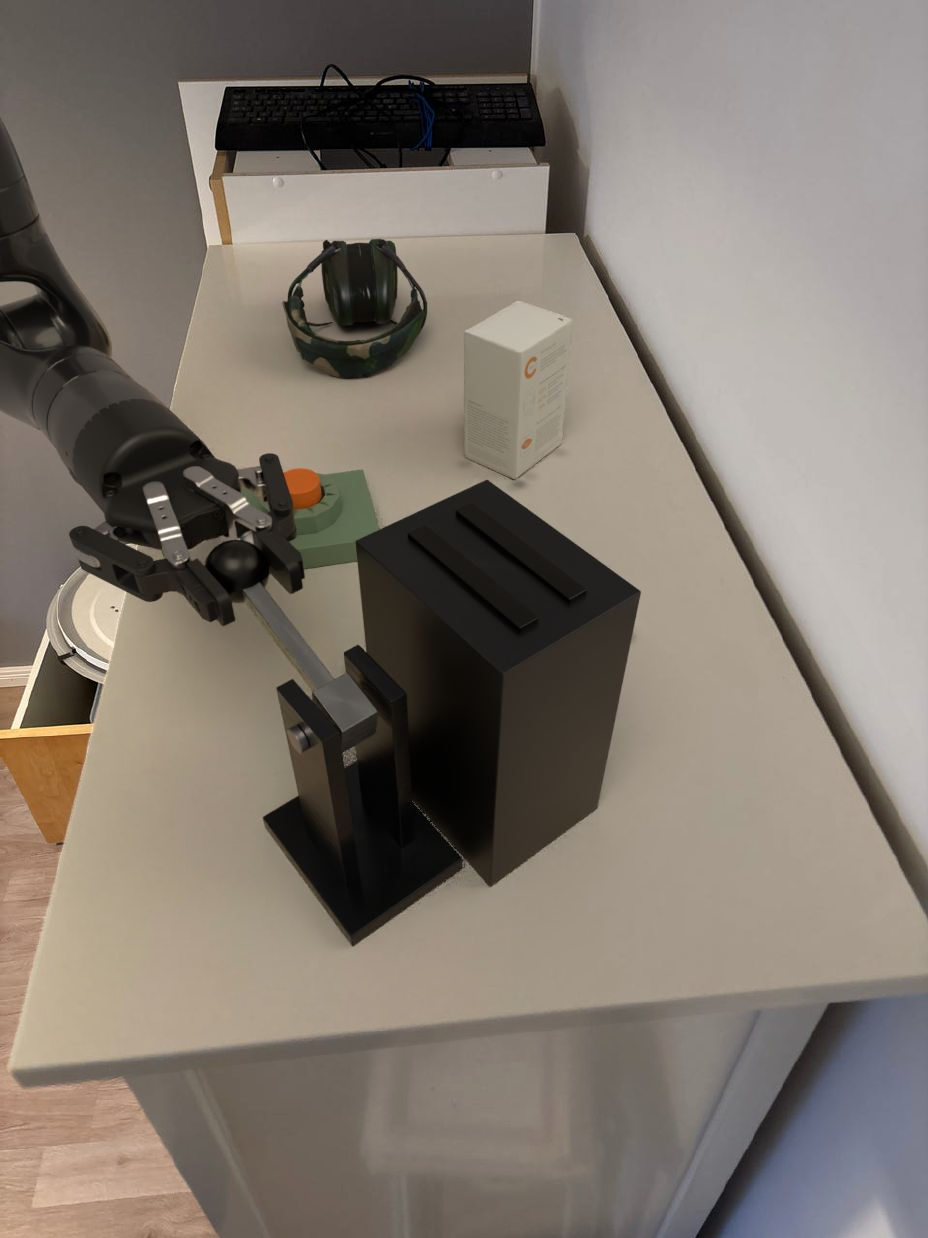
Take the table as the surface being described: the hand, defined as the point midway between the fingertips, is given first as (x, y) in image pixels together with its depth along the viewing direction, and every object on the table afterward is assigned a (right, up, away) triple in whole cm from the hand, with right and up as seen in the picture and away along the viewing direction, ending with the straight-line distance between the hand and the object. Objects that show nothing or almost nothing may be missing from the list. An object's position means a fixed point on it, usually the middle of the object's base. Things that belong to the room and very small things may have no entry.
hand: (262, 595), depth 49 cm
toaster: (+12, -12, +10) cm, 20 cm away
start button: (-3, +9, +26) cm, 28 cm away
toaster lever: (+1, -3, +1) cm, 4 cm away
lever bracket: (+5, -15, +6) cm, 17 cm away
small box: (+16, +15, +38) cm, 44 cm away
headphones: (-1, +31, +54) cm, 62 cm away
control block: (-3, +6, +29) cm, 29 cm away
